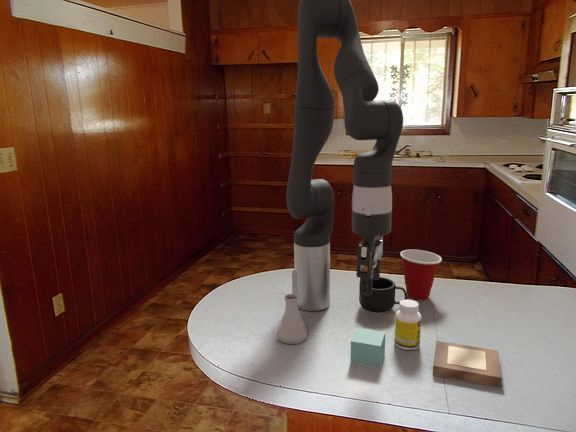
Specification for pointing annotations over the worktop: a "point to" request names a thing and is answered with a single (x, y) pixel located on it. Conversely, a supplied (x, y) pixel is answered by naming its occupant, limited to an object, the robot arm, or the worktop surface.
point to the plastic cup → (419, 272)
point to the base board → (467, 363)
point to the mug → (380, 296)
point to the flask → (291, 323)
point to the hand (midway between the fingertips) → (370, 287)
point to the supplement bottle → (408, 325)
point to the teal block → (368, 347)
